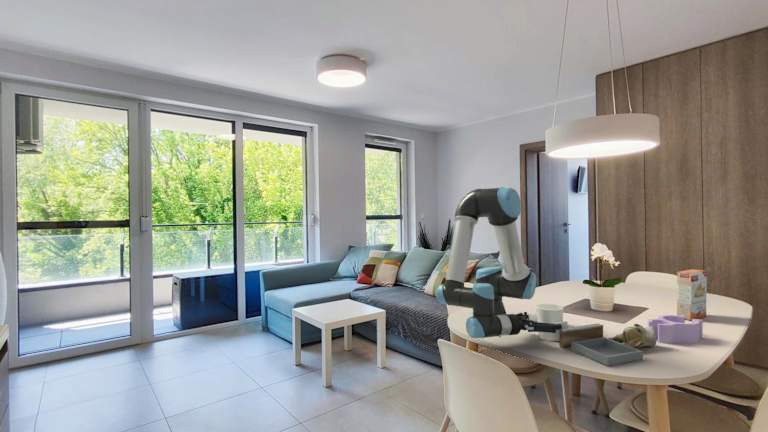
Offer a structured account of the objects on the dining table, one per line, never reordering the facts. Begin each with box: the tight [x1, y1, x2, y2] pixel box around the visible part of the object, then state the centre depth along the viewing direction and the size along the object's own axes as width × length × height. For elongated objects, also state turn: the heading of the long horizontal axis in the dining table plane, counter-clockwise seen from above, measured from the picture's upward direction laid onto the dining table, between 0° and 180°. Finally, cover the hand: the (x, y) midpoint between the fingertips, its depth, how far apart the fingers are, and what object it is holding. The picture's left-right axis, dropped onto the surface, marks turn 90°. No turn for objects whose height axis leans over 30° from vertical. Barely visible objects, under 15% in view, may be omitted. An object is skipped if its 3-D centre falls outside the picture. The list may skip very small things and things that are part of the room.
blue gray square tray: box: [570, 336, 644, 368], centre depth 131 cm, size 15×15×3 cm
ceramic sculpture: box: [607, 323, 657, 350], centre depth 138 cm, size 11×9×15 cm
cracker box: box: [676, 268, 708, 321], centre depth 172 cm, size 14×6×21 cm, turn 118°
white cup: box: [535, 303, 564, 342], centre depth 150 cm, size 10×10×12 cm
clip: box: [647, 314, 704, 345], centre depth 147 cm, size 20×12×7 cm, turn 107°
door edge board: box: [559, 323, 604, 350], centre depth 141 cm, size 2×18×7 cm, turn 107°
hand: (554, 320), depth 150 cm, fingers open, 13 cm apart
